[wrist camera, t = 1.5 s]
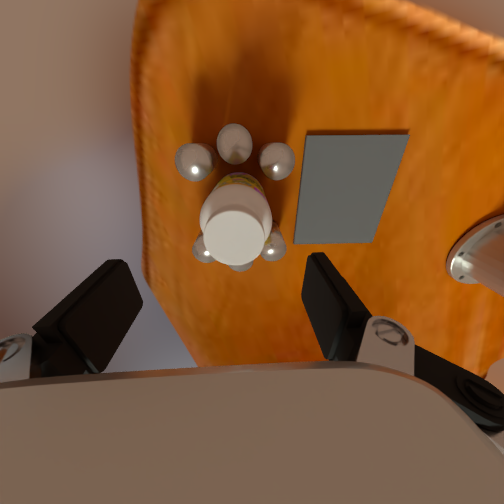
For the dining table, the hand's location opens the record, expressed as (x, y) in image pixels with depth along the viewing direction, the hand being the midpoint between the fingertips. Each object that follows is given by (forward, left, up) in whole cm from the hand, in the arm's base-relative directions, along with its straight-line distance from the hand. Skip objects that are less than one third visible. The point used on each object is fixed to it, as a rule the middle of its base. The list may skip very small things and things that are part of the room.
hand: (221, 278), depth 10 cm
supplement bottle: (-1, 0, -18) cm, 18 cm away
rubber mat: (-15, 0, -18) cm, 23 cm away
